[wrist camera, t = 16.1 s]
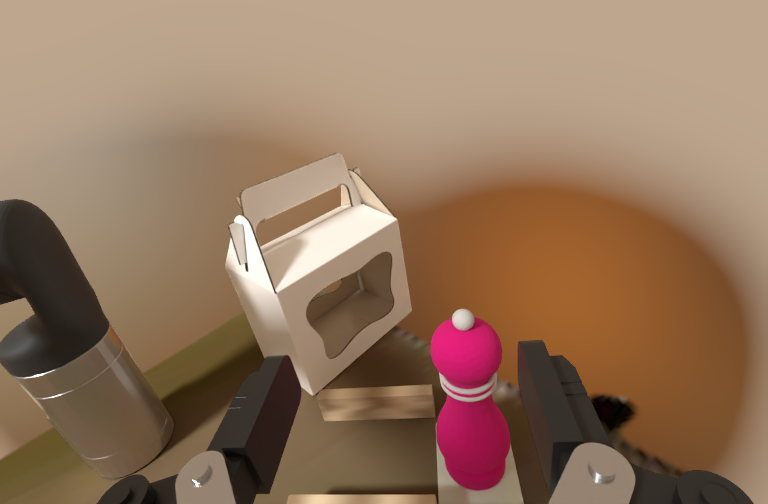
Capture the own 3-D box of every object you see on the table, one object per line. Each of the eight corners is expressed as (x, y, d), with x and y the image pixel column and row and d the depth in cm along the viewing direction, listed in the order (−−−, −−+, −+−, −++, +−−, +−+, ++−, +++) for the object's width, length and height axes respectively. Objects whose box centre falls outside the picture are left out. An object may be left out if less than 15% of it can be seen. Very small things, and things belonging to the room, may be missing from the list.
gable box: (361, 288, 73) (327, 144, 60) (414, 310, 64) (388, 147, 51) (262, 359, 60) (191, 193, 47) (312, 398, 51) (242, 209, 38)
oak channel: (296, 533, 37) (284, 511, 35) (327, 411, 49) (319, 389, 47) (440, 536, 34) (435, 512, 33) (435, 407, 47) (431, 384, 45)
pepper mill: (456, 507, 36) (436, 354, 27) (430, 442, 42) (407, 299, 33) (524, 482, 37) (528, 325, 28) (489, 422, 43) (483, 277, 34)
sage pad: (439, 506, 37) (438, 505, 37) (435, 424, 44) (435, 423, 44) (524, 506, 35) (524, 505, 35) (505, 422, 43) (505, 421, 43)
